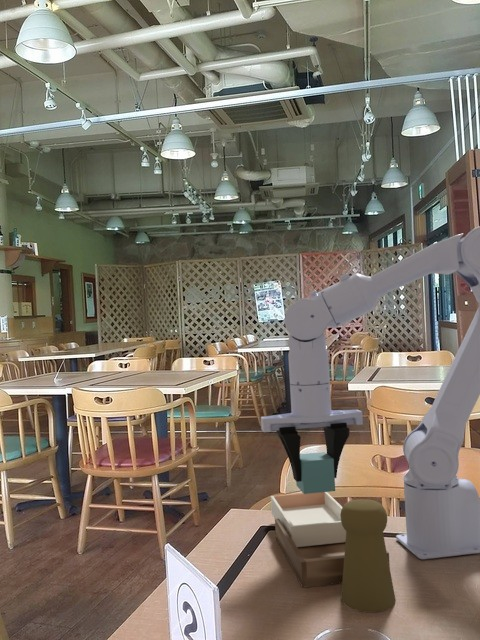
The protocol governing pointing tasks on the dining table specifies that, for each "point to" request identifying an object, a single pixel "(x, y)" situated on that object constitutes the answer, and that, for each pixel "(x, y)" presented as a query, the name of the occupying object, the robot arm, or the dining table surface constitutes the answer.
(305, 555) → the dock
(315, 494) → the tray
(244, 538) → the dining table surface
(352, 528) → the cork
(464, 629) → the dining table surface
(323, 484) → the teal block
